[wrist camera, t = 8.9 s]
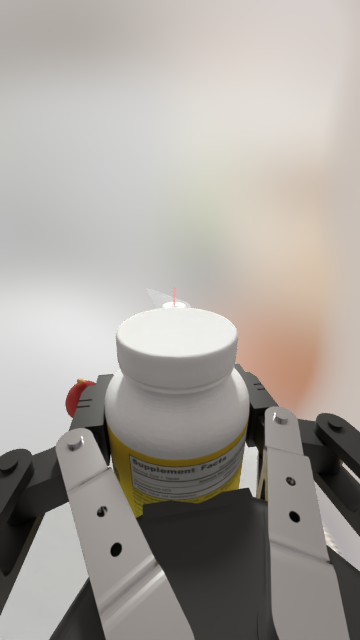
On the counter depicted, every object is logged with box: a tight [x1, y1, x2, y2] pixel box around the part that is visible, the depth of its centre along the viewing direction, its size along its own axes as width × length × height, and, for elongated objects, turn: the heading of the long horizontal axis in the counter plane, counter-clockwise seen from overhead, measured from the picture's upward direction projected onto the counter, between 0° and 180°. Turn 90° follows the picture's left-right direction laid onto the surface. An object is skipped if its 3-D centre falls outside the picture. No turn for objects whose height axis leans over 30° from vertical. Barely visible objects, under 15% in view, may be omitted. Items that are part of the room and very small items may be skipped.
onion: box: [66, 378, 96, 418], centre depth 38 cm, size 6×6×8 cm
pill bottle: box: [105, 307, 249, 518], centre depth 11 cm, size 6×6×11 cm
